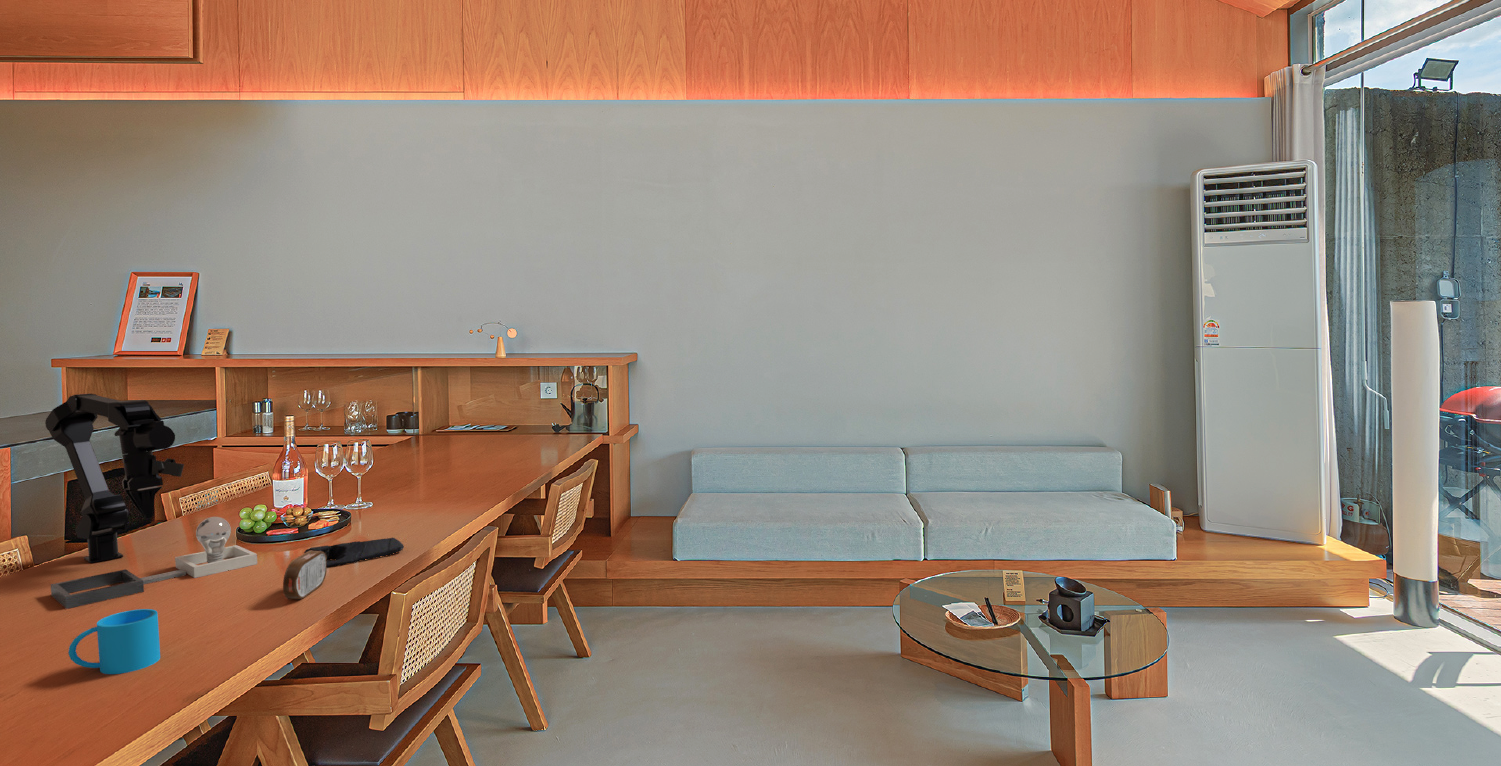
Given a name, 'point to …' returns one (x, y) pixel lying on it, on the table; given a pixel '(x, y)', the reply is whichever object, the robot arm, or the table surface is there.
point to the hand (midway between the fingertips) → (147, 516)
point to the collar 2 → (240, 560)
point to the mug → (123, 642)
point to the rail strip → (163, 576)
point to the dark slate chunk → (359, 550)
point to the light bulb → (213, 537)
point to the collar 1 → (69, 601)
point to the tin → (304, 574)
